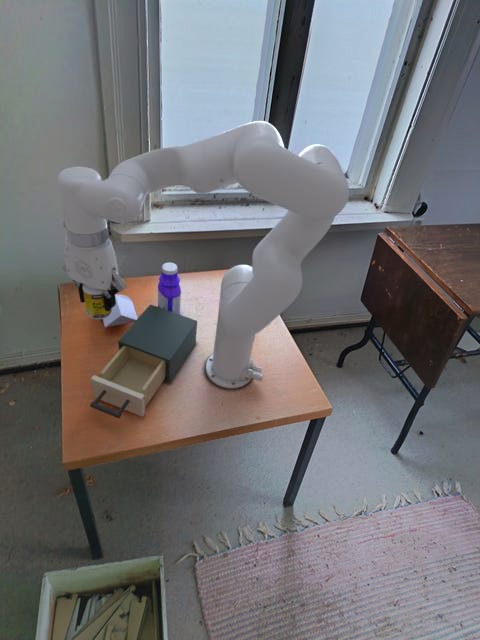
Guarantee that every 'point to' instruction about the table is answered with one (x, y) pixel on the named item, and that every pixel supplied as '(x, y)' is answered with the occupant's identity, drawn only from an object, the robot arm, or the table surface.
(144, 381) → the drawer
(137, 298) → the table surface
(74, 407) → the table surface
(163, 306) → the bottle
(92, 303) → the supplement bottle
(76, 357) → the table surface
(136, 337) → the cabinet
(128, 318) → the wedge on round base
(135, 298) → the table surface
